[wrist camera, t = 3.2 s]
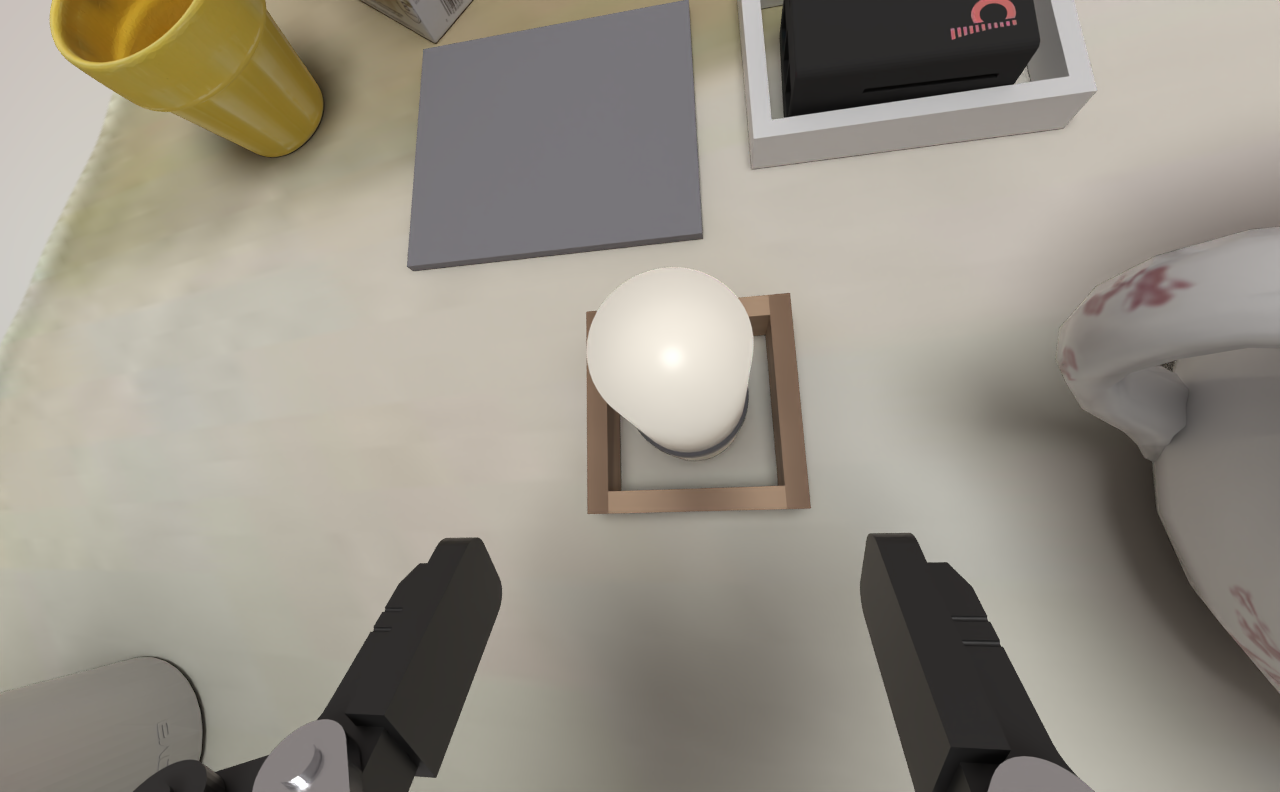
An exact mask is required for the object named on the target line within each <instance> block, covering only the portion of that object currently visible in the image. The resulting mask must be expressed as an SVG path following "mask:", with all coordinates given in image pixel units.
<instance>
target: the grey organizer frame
mask: <svg viewBox="0 0 1280 792" xmlns="http://www.w3.org/2000/svg"><path fill="white" fill-rule="evenodd" d="M1033 1H1034V6H1035V12H1036V17H1037V23H1038V28H1039V34H1040V45H1039V48H1038V50H1037V51H1036V53H1035V54H1034V55H1033V57H1032V58H1031V60H1030V61H1029V63H1028V64H1027V66H1028V71H1029V75H1030V79H1031V82H1026V83H1020V84H1013V85H1006V86H999V87H992V88H985V89H978V90H972V91H965V92H958V93H951V94H944V95H937V96H930V97H924V98H917V99H910V100H903V101H896V102H889V103H883V104H876V105H869V106H862V107H855V108H848V109H841V110H835V111H828V112H821V113H814V114H807V115H800V116H793V117H787V118H780V119H773V120H772V118H771V108H770V97H769V87H768V77H767V66H766V56H765V45H764V35H763V24H762V14H761V9H762V8H768V7H773V6H779V5H783V0H737V3H738V15H739V27H740V38H741V50H742V62H743V74H744V86H745V98H746V110H747V122H748V133H749V145H750V157H751V169H757V168H765V167H772V166H780V165H788V164H795V163H803V162H810V161H818V160H826V159H833V158H841V157H848V156H856V155H864V154H871V153H879V152H887V151H894V150H902V149H909V148H917V147H925V146H932V145H940V144H947V143H955V142H963V141H970V140H978V139H985V138H993V137H1001V136H1008V135H1016V134H1024V133H1031V132H1039V131H1046V130H1054V129H1062V128H1064V127H1065V126H1066V125H1067V124H1068V123H1069V122H1070V120H1071V119H1072V118H1073V117H1074V116H1075V115H1076V114H1077V113H1078V112H1079V110H1080V109H1081V108H1082V107H1083V106H1084V105H1085V104H1086V103H1087V102H1088V100H1089V99H1090V98H1091V97H1092V96H1093V95H1094V94H1095V93H1096V92H1097V87H1096V83H1095V79H1094V75H1093V71H1092V68H1091V64H1090V60H1089V56H1088V52H1087V48H1086V44H1085V40H1084V37H1083V33H1082V29H1081V25H1080V21H1079V17H1078V13H1077V9H1076V6H1075V2H1074V0H1033Z"/></svg>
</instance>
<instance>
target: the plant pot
mask: <svg viewBox="0 0 1280 792" xmlns="http://www.w3.org/2000/svg"><path fill="white" fill-rule="evenodd" d="M50 28H51V33H52V37H53V40H54V42H55V45H56V47H57V48H58V50H59V51H60V52H61V54H62V55H63V56H64V57H65V58H66V59H67V60H68V61H69V62H70V63H72V64H73V65H75V66H76V67H77V68H79V69H80V70H82V71H83V72H85V73H86V74H88V75H89V76H91V77H92V78H94V79H95V80H97V81H98V82H100V83H102V84H103V85H105V86H106V87H108V88H110V89H111V90H113V91H114V92H116V93H118V94H119V95H121V96H122V97H124V98H126V99H128V100H129V101H131V102H133V103H134V104H136V105H138V106H141V107H143V108H146V109H149V110H153V111H161V112H172V113H174V114H176V115H178V116H180V117H182V118H184V119H186V120H188V121H190V122H192V123H195V124H197V125H199V126H201V127H203V128H205V129H207V130H209V131H211V132H213V133H215V134H217V135H219V136H221V137H223V138H225V139H228V140H230V141H232V142H234V143H236V144H238V145H240V146H242V147H244V148H246V149H248V150H250V151H252V152H254V153H256V154H259V155H262V156H266V157H278V156H283V155H287V154H289V153H291V152H293V151H295V150H296V149H298V148H299V147H301V146H302V145H303V144H304V143H305V142H306V141H307V140H308V139H309V138H310V137H311V136H312V135H313V133H314V132H315V130H316V129H317V127H318V125H319V123H320V120H321V117H322V113H323V96H322V93H321V90H320V88H319V86H318V85H317V83H316V82H315V80H314V79H313V77H312V76H311V74H310V73H309V71H308V70H307V68H306V67H305V65H304V64H303V62H302V61H301V59H300V58H299V57H298V55H297V54H296V52H295V51H294V49H293V48H292V46H291V45H290V43H289V42H288V40H287V39H286V37H285V36H284V34H283V33H282V32H281V30H280V29H279V27H278V26H277V24H276V23H275V21H274V20H273V18H272V17H271V15H270V14H269V12H268V11H267V9H266V2H265V0H52V4H51V10H50Z"/></svg>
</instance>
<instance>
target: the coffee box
mask: <svg viewBox="0 0 1280 792" xmlns="http://www.w3.org/2000/svg"><path fill="white" fill-rule="evenodd" d="M361 1H363V2H365V3H366V4H368V5H370V6H372V7H373V8H375V9H377V10H379V11H380V12H382V13H384V14H386V15H387V16H389V17H391V18H392V19H394V20H396V21H398V22H399V23H401V24H403V25H404V26H406V27H408V28H410V29H411V30H413V31H415V32H416V33H418V34H420V35H422V36H423V37H425V38H427V39H429V40H430V41H432V42H434V43H436V42H438V40H439V39H440V38H441V37H442V36H443V34H444V33H445V32H446V31H447V30H448V29H449V27H450V26H451V25H452V24H453V23H454V21H455V20H456V19H457V18H458V17H459V15H460V14H461V13H462V12H463V11H464V9H465V8H466V7H467V6H468V5H469V4H470V2H471V1H472V0H361Z"/></svg>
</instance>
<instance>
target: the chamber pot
mask: <svg viewBox="0 0 1280 792" xmlns="http://www.w3.org/2000/svg"><path fill="white" fill-rule="evenodd" d="M1055 360H1056V362H1057V364H1058V366H1059V369H1060V371H1061V373H1062V375H1063V378H1064V380H1065V382H1066V384H1067V385H1068V387H1069V389H1070V390H1071V392H1072V394H1073V395H1074V397H1075V398H1076V400H1077V402H1078V403H1079V405H1080V407H1081V408H1082V409H1083V410H1085V411H1087V412H1088V413H1090V414H1092V415H1094V416H1096V417H1097V418H1099V419H1101V420H1103V421H1105V422H1106V423H1108V424H1110V425H1112V426H1114V427H1115V428H1117V429H1119V430H1121V431H1123V432H1124V433H1125V434H1126V435H1127V436H1128V437H1130V438H1131V439H1132V440H1133V441H1134V442H1135V443H1136V444H1137V445H1138V447H1139V449H1140V451H1141V453H1142V455H1143V456H1144V458H1146V459H1149V460H1151V461H1152V465H1153V476H1154V487H1155V498H1156V509H1157V513H1158V515H1159V517H1160V519H1161V522H1162V524H1163V526H1164V528H1165V531H1166V533H1167V535H1168V537H1169V539H1170V542H1171V544H1172V546H1173V548H1174V551H1175V553H1176V555H1177V557H1178V559H1179V562H1180V564H1181V566H1182V568H1183V571H1184V573H1185V575H1186V577H1187V580H1188V582H1189V584H1190V585H1191V587H1192V588H1193V589H1194V590H1195V592H1196V593H1197V594H1198V596H1199V597H1200V598H1201V599H1202V601H1203V602H1204V603H1205V604H1206V606H1207V607H1208V608H1209V609H1210V611H1211V612H1212V613H1213V614H1214V616H1215V617H1216V618H1217V619H1218V621H1219V622H1220V623H1221V624H1222V626H1223V627H1224V628H1225V629H1226V630H1227V632H1228V633H1229V634H1230V635H1231V636H1232V638H1233V639H1234V640H1235V641H1236V642H1237V644H1238V645H1239V646H1240V647H1241V648H1242V649H1243V651H1244V652H1245V653H1246V654H1247V655H1248V657H1249V658H1250V659H1251V660H1252V661H1253V663H1254V664H1255V665H1256V666H1257V667H1258V668H1259V670H1260V671H1261V672H1262V673H1263V674H1264V676H1265V677H1266V678H1267V679H1268V680H1269V681H1270V683H1271V684H1272V685H1273V686H1274V687H1275V689H1276V690H1277V691H1278V692H1279V693H1280V227H1270V228H1260V229H1250V230H1246V231H1243V232H1239V233H1235V234H1232V235H1228V236H1225V237H1221V238H1218V239H1214V240H1210V241H1207V242H1203V243H1200V244H1196V245H1193V246H1189V247H1185V248H1182V249H1178V250H1175V251H1171V252H1168V253H1164V254H1160V255H1157V256H1155V257H1153V258H1151V259H1149V260H1147V261H1145V262H1143V263H1141V264H1139V265H1137V266H1135V267H1133V268H1131V269H1129V270H1127V271H1125V272H1123V273H1121V274H1119V275H1117V276H1115V277H1113V278H1111V279H1109V280H1107V281H1105V282H1103V283H1101V284H1099V285H1097V286H1096V287H1095V288H1094V289H1093V290H1092V291H1091V292H1090V294H1089V295H1088V296H1087V297H1086V298H1085V299H1084V300H1083V302H1082V303H1081V304H1080V305H1079V306H1078V307H1077V308H1076V309H1075V311H1074V312H1073V313H1072V314H1071V315H1070V316H1069V317H1068V319H1067V320H1066V321H1065V322H1064V323H1063V324H1062V325H1061V326H1060V328H1059V335H1058V342H1057V350H1056V358H1055ZM1172 361H1175V363H1174V366H1173V369H1172V371H1170V370H1168V369H1166V368H1164V367H1162V366H1161V364H1165V363H1168V362H1172Z"/></svg>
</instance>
